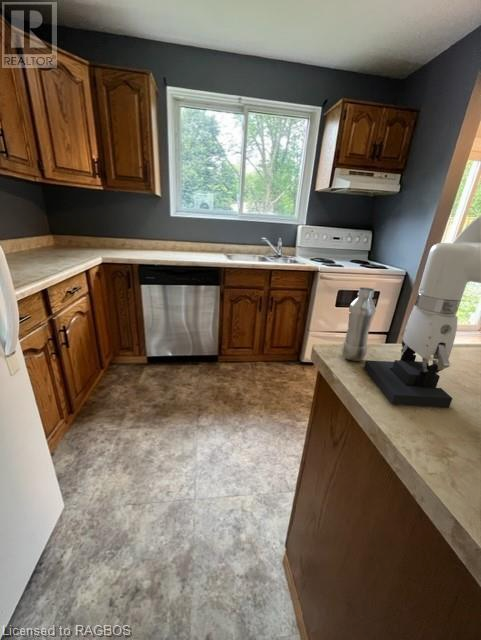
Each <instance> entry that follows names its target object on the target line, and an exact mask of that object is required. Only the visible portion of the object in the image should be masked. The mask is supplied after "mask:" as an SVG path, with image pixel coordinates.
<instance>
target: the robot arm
mask: <svg viewBox="0 0 481 640" xmlns="http://www.w3.org/2000/svg"><path fill="white" fill-rule="evenodd" d="M469 282H471V283H472V282H473V283H477V284H481V214H480V215H479V216H477V217H476V218H474V220H472V221H471V222H470V223H469V224H467V225H466V226H465V227H464V228H463V230H462V231H461V232H460V233H459V234H458V235H457V236H456V237H455V238H454V239H453V240H452V242H438V243H435V244H433V245H432V246H431V248H430V250H429V252H428V256H427V259H426V262H425V266H424V270H423V274H422V277H421V281H420V284H419V288H418V291H417V295H416V299H415V301H414V305H413V308H412V309H411V312H410V315H409V317H408V320H407V323H406V325H405V329H404V331H402V332H401V333H400V336H401V346H402V348H401V350H400V353H401V355H400V359H399V360H402V361H416V359H417V355H418V356H420V357H421V359H422V361H421V362H422V370H420V371H419V374H418V377H417V380H416V383H415V385H416V386H417V387H431V385H432V382H433V380H434V377H435V374H436V373H437V374H438V373H439V372H441V371H443V370H445V369H447V368H450V366H451V363H450V356H451V353H452V350H453V347H454V344H455V340H456V335H457V330H458V329H457V328H458V322H459V321H458V318H459V317H458V316H457V313H458V310H459V307H460V304H461V301H462V298H463V296H464V292H465V289H466V286H467V284H468V283H469ZM431 356H432V357H431ZM429 361H432V364H429V363H430V362H429Z"/></svg>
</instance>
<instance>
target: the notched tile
mask: <svg viewBox="0 0 481 640" xmlns="http://www.w3.org/2000/svg"><path fill="white" fill-rule="evenodd" d="M363 365H364V366H363V369H364V371H365V372H366V374H367V375H368V376H369V377H370V379H371V380H372V381H373V382H374V384H375V385H376V387H377V388H378V389H379V390H380V391H381V393H382V394H383V395H384V397H385V398H386V399H387V400H388V402H389V403H390V404H391V405H392V406H406V407H407V406H410V407H426V408H444V409H450V407H451V404H452V401H453V397H452V396H451V395H450V394H449V393H447V392H446V391H445V390H444V389H443V388H442V387H436V388H434V387H416V386H406V385H405V384H404V383H403V382H402V381H401V380H400V379H399V378H398V377H397V376H396V375H395V374H394V373H393V372H392V368H393V365H394V361H390V360H389V361H387V360H368V359H367V360H366V359H365V360H364V364H363Z"/></svg>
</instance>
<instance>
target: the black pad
mask: <svg viewBox="0 0 481 640" xmlns="http://www.w3.org/2000/svg"><path fill="white" fill-rule="evenodd" d="M393 362H394V365H393V368H392V372H393V373H394V374H395V375H396V376H397V377H398V378H399V379H400V380H401V381H402V382H403V383H404V384H405V385H406V386H416V385H415V383H416V380H417V377H418V374H419V371H420V370H422V361H421V360H420V361H419V360H418V361H417V360H415V361H402V360H400V359H394V360H393ZM440 377H441V375H439V374H438V373H436V374H435V377H434V380H433V382H432V385H431V387H434V388H437V386H438V383H439V380H440ZM416 387H417V386H416Z"/></svg>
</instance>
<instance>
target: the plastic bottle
mask: <svg viewBox="0 0 481 640" xmlns="http://www.w3.org/2000/svg"><path fill="white" fill-rule="evenodd" d="M374 294H375V289H374V288H370V287H359V288H358V292H357V298H355V299H354V300H353V301H352V302H351V303H350V305H349V306H348V307H349V308H348V311H349V312H348V323H347V330H346V334H345V337H344V340H343V342H342V345H341V355H342V357H343V358H345V359H347V360H349V361H353V362H360V361H362V360H364V359H365V358H366V355H367V354H368V352H367V351H368V338H369V333H370V328H371V325H372V323H373V320H374V317H375V315H376V311H377V310H376V308H377V307H376V306H375V303H374V301H373V298H374V297H375V295H374Z"/></svg>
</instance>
